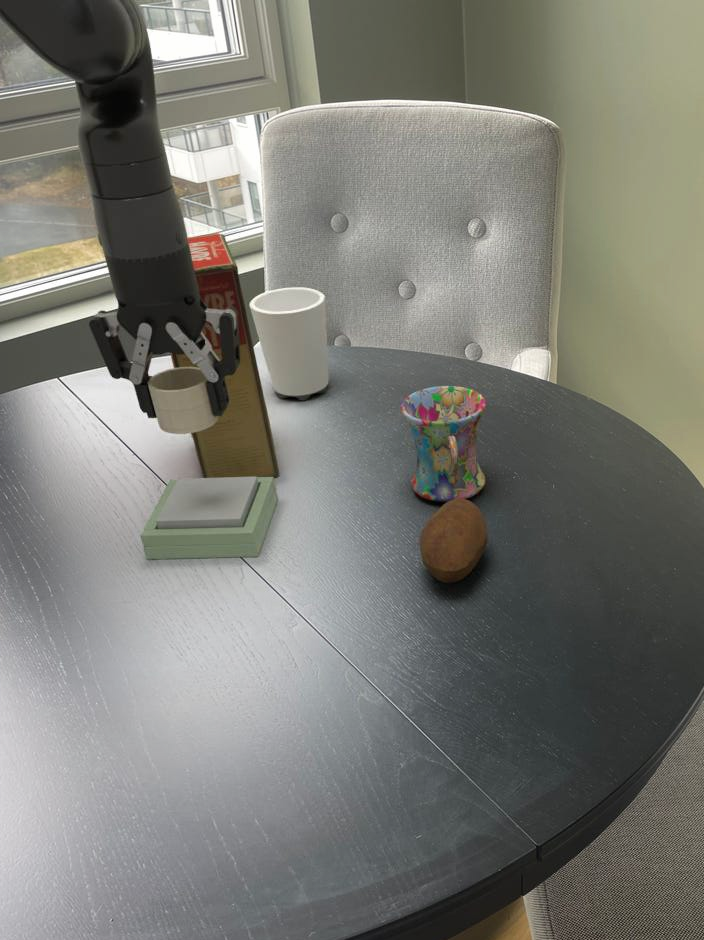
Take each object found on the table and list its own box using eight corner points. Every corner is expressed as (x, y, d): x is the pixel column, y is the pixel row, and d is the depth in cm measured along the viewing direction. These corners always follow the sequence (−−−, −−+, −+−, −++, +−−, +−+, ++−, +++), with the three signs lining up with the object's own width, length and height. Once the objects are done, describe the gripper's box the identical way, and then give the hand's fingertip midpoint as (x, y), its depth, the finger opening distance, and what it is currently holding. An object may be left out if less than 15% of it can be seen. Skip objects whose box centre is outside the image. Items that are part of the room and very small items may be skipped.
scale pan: (158, 531, 103) (155, 520, 102) (180, 489, 110) (177, 478, 109) (242, 529, 102) (240, 518, 101) (259, 487, 109) (256, 476, 108)
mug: (404, 474, 115) (396, 390, 109) (481, 465, 116) (477, 381, 110) (417, 526, 106) (409, 438, 100) (500, 516, 107) (497, 428, 101)
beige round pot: (151, 435, 96) (140, 392, 94) (167, 408, 101) (157, 367, 98) (211, 433, 96) (201, 390, 93) (224, 407, 101) (215, 365, 98)
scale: (146, 559, 103) (139, 535, 101) (175, 502, 112) (169, 479, 111) (258, 556, 103) (253, 532, 101) (278, 499, 112) (273, 476, 110)
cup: (252, 391, 136) (235, 300, 128) (310, 370, 141) (296, 281, 133) (292, 412, 130) (276, 318, 122) (351, 389, 135) (339, 298, 127)
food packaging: (193, 443, 124) (143, 240, 108) (266, 430, 126) (227, 229, 111) (203, 491, 114) (149, 276, 98) (282, 477, 116) (242, 263, 101)
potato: (414, 600, 95) (409, 541, 91) (429, 537, 104) (424, 480, 100) (483, 601, 95) (480, 541, 90) (491, 538, 104) (489, 480, 99)
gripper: (232, 227, 90) (264, 396, 101) (81, 233, 91) (128, 400, 101) (214, 252, 84) (249, 429, 95) (52, 258, 85) (105, 432, 95)
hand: (186, 413), depth 98 cm, fingers closed on beige round pot, 6 cm apart
